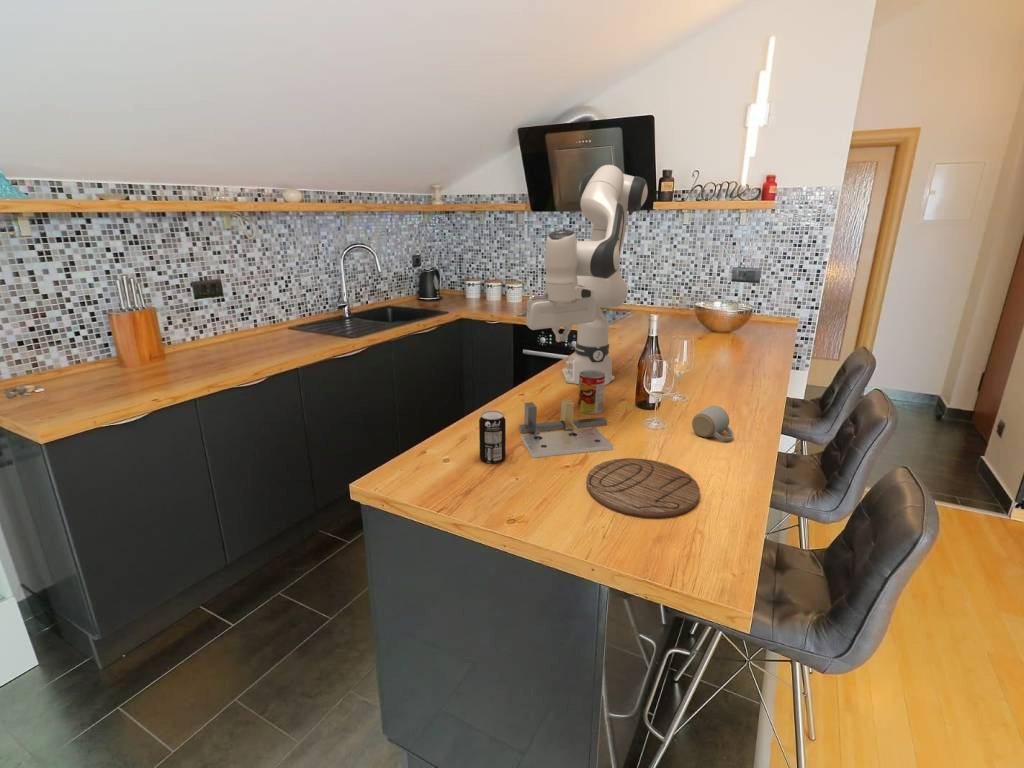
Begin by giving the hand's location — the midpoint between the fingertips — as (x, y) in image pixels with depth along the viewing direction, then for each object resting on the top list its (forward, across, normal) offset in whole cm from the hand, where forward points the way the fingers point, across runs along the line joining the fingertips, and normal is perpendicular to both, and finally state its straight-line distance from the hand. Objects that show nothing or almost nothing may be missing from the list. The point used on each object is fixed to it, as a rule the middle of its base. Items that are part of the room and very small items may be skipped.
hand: (561, 341), depth 152 cm
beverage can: (+24, -27, -16) cm, 40 cm away
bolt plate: (+24, -6, -15) cm, 29 cm away
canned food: (+26, +13, +6) cm, 29 cm away
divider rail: (+25, -2, -7) cm, 26 cm away
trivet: (+25, 0, -43) cm, 49 cm away
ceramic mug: (+27, +36, -24) cm, 50 cm away
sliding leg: (+24, -1, -7) cm, 26 cm away
